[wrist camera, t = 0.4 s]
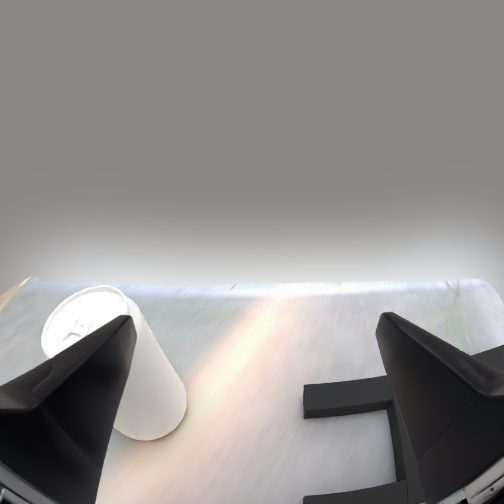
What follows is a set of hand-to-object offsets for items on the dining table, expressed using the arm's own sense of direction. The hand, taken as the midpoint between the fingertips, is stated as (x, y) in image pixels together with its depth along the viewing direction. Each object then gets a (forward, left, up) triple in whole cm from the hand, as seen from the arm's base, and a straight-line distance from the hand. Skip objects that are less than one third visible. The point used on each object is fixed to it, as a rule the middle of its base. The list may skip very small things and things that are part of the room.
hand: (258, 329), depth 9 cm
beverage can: (+3, +12, -16) cm, 20 cm away
